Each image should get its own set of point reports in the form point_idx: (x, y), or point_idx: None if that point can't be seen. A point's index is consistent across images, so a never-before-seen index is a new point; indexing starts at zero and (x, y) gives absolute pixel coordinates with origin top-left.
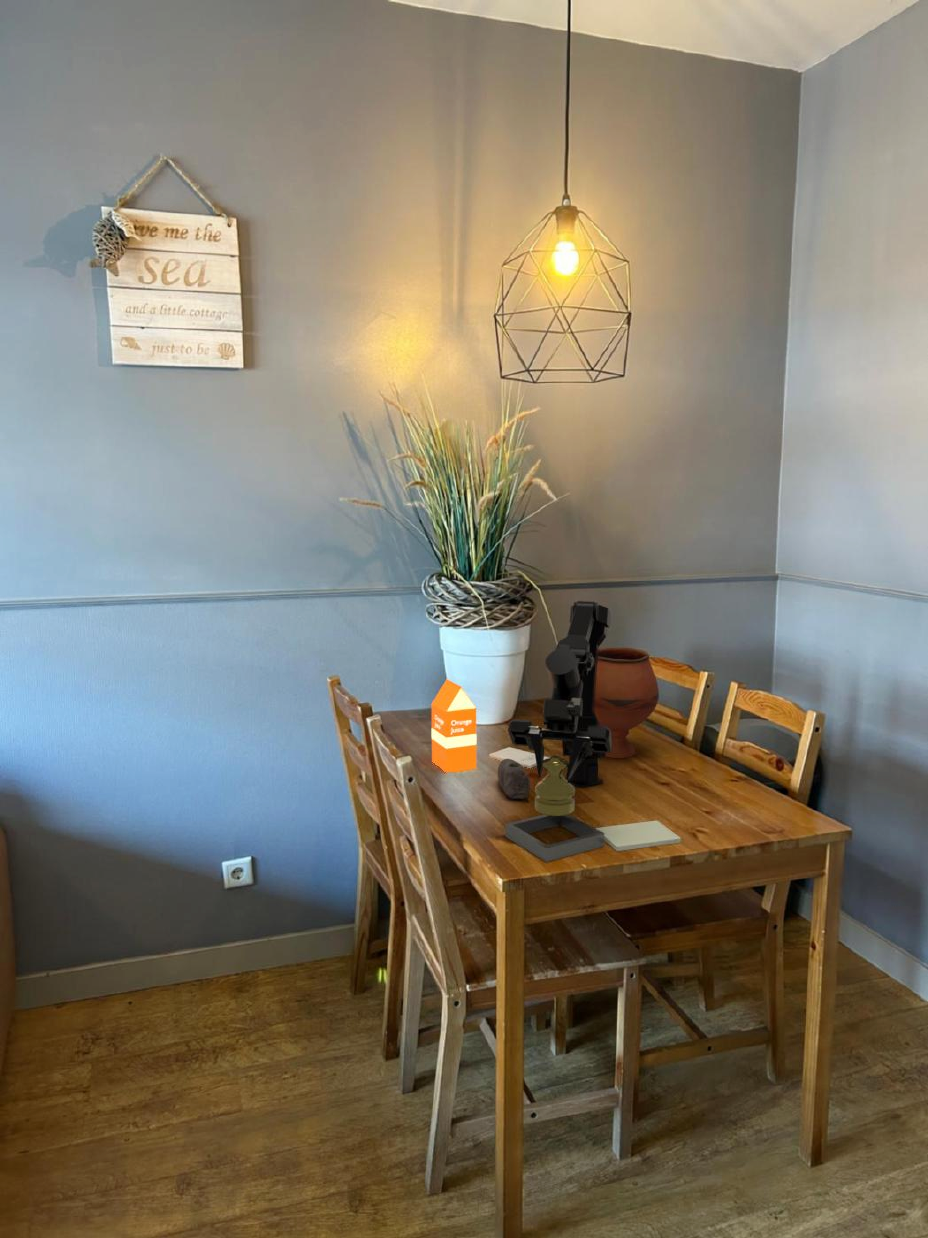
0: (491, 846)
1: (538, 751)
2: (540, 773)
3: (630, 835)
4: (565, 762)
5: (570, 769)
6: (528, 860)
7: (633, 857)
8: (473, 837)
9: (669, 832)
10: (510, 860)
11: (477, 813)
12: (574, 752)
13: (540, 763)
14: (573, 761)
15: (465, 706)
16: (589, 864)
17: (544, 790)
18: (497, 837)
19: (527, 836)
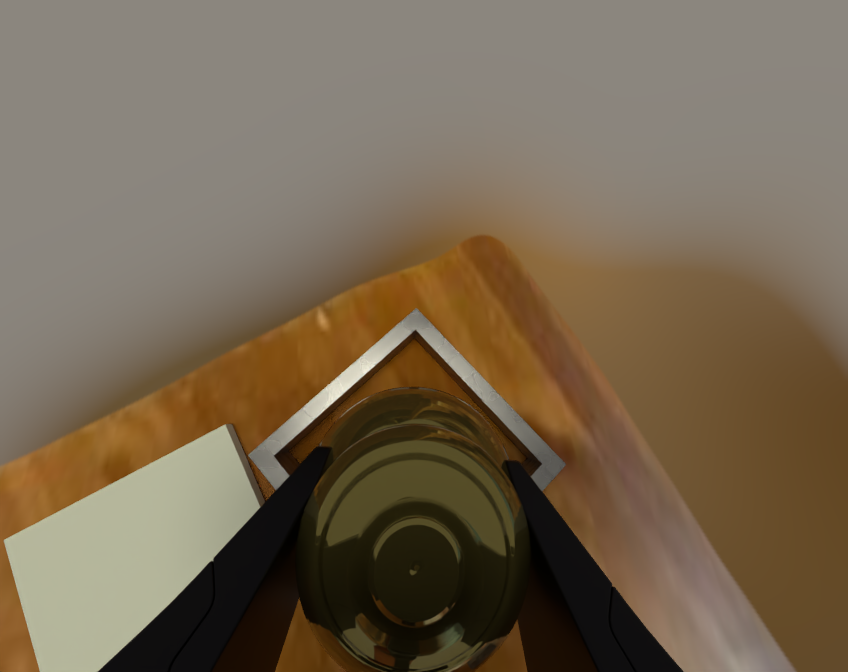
0: (566, 386)
1: (619, 653)
2: (505, 466)
3: (172, 525)
4: (319, 537)
5: (289, 484)
6: (459, 322)
7: (189, 393)
8: (629, 436)
9: (30, 587)
10: (501, 314)
11: (682, 641)
12: (176, 662)
13: (535, 523)
14: (238, 546)
15: None
16: (309, 328)
17: (455, 405)
18: (567, 450)
19: (480, 379)
